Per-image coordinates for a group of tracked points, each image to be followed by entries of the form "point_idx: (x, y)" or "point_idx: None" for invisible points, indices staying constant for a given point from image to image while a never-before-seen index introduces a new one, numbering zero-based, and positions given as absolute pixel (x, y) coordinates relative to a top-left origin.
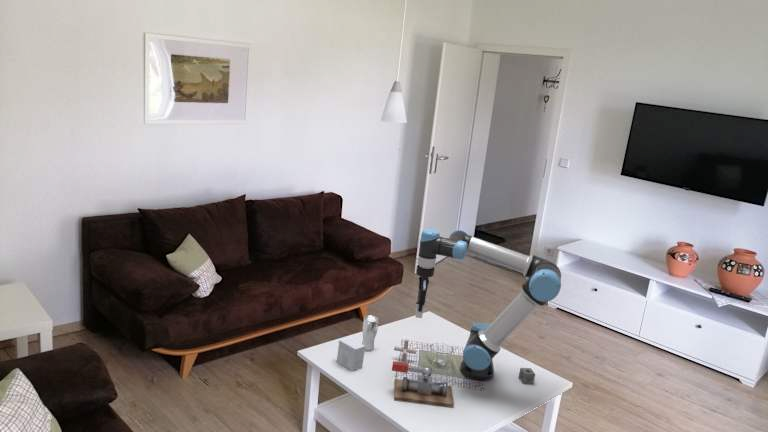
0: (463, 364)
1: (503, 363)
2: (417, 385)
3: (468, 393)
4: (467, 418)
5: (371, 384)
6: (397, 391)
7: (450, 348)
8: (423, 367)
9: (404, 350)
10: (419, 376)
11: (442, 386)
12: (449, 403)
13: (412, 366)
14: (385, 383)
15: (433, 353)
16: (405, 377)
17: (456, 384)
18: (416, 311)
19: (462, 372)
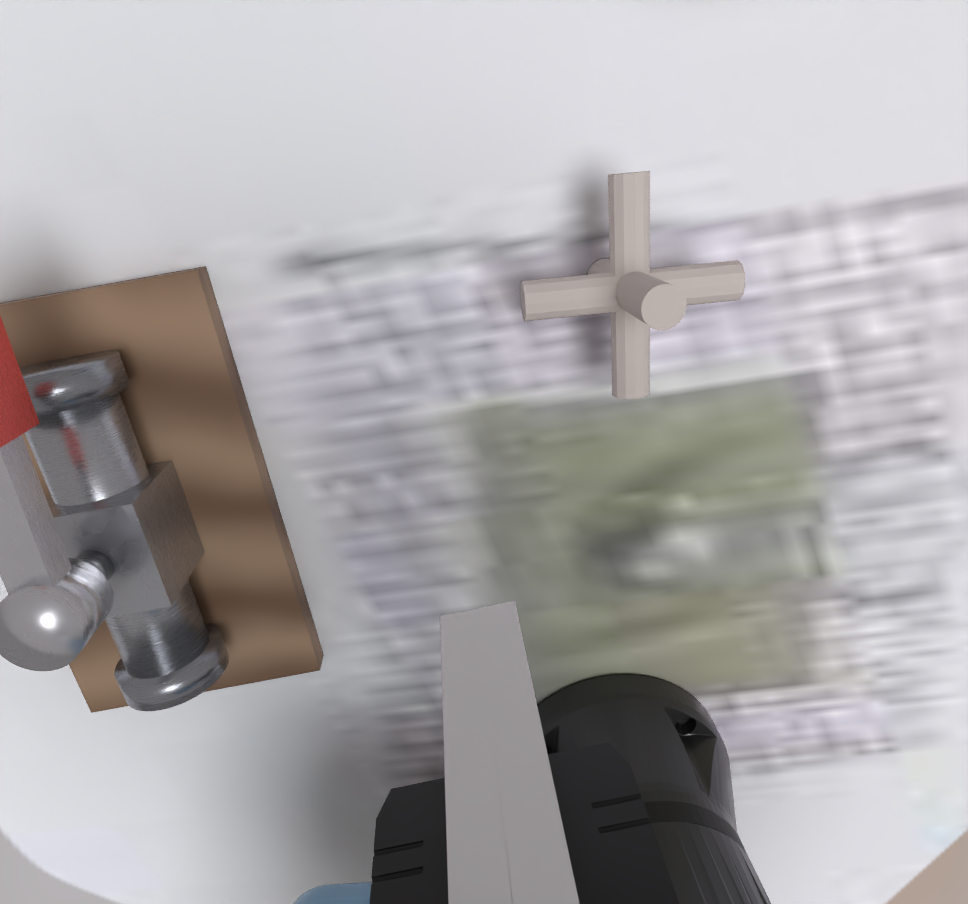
0: (586, 734)
1: (777, 873)
2: (52, 496)
3: (324, 749)
4: (33, 775)
5: (47, 68)
6: (6, 329)
7: (899, 583)
8: (16, 600)
9: (582, 291)
10: (109, 514)
11: (130, 673)
12: (83, 688)
13: (5, 488)
14: (138, 194)
15: (788, 483)
16: (39, 397)
17: (400, 678)
18: (456, 709)
19: (554, 701)
